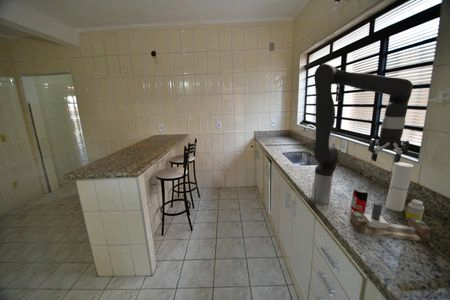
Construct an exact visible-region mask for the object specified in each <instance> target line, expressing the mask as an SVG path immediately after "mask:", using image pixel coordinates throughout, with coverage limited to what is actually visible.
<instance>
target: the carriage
mask: <svg viewBox="0 0 450 300" xmlns="http://www.w3.org/2000/svg"><path fill="white" fill-rule="evenodd" d="M382 209H383V204H381V203H379V202H374V203H373V206H372V210H371V214H369V213H362V216H363V218H364V219H365V220H366V222H367V223H366V224H367V225H368V226H371V227H379V228H387V227H388V224H389V223H388V222H387V221H386V219H385V218H384V217H383V216H382Z"/></svg>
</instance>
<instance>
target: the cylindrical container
mask: <svg viewBox="0 0 450 300" xmlns="http://www.w3.org/2000/svg"><path fill="white" fill-rule="evenodd" d="M413 170H414V165H413V164H411V163H408V162H402V161H399V162H398V163H395V162H394V166H393V170H392V173H391V174H392V175H391V180H390V184H389V189H388V193H387V198H386V203H385V208H387V209H389V210H391V211H395V212H403V211H404V207H405V203H406V199H407V196H408V191H409V187H410V182H411V179H412V174H413Z"/></svg>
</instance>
